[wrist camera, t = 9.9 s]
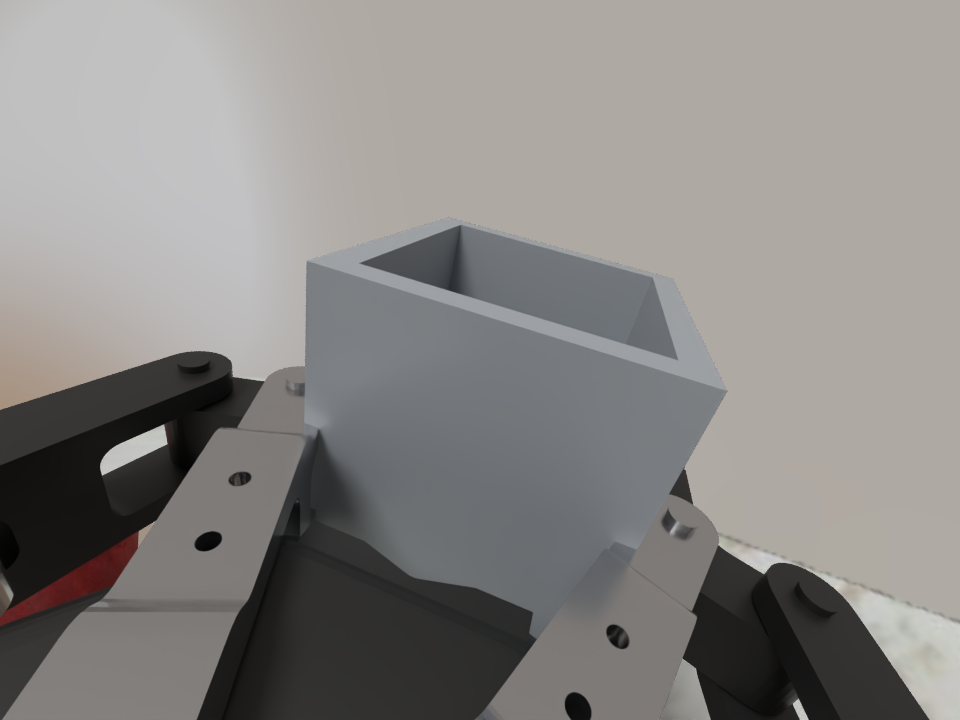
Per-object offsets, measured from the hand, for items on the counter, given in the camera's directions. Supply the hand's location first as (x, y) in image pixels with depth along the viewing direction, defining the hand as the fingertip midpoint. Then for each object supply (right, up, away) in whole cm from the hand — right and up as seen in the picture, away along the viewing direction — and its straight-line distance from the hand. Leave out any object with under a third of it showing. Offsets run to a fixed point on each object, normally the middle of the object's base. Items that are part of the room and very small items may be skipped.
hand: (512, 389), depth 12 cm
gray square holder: (-2, -6, +1) cm, 7 cm away
